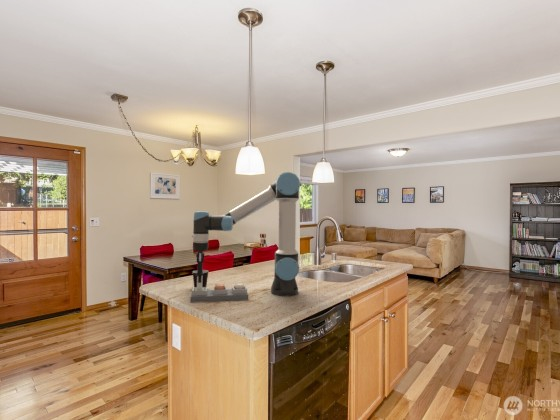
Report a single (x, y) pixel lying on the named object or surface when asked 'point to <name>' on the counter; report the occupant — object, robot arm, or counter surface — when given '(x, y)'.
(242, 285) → the button cream
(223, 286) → the button terracotta
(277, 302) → the counter surface
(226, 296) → the button panel
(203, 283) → the coffee mug
